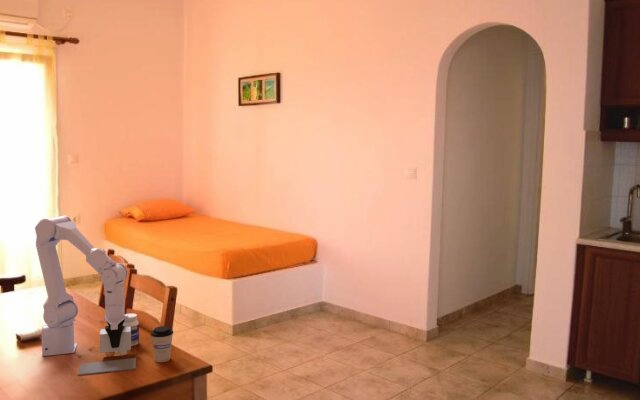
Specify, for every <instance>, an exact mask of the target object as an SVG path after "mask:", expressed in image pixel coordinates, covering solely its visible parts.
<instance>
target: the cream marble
mask: <svg viewBox="0 0 640 400" xmlns="http://www.w3.org/2000/svg"><path fill="white" fill-rule="evenodd" d="M127 353H128V350H126V351H117V354H118V355H119V356H121V357H122V356H125V355H127Z"/></svg>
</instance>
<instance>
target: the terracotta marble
mask: <svg viewBox="0 0 640 400" xmlns="http://www.w3.org/2000/svg"><path fill="white" fill-rule="evenodd" d="M115 353H116V352H105V353H104V355H105V356H106V357H107V358H111V357H114V355H115Z"/></svg>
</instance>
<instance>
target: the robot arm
mask: <svg viewBox="0 0 640 400" xmlns="http://www.w3.org/2000/svg"><path fill="white" fill-rule="evenodd" d="M34 231H35V234H36V237H35V238H36V239H35V247H36V250H37V256H38V260H39V264H40V269H41V272H42V277H43V281H44V285H45V286H44V287H45V289H46V294H47V299H46V300H45V302H44V303H43V314H42V315H43V316H42V317H43V321H44V323H45V325H43V326H42V327H41V357H46V356H56V355H66V354H67V355H68V354H74V353H75V352H76V349H77V345H78V343H77V342H75V327H74V326H75V324H74V323H75V320H76V319H75V318H76V317H77V316H78V314H79V307H78V305H77V303H76V302H75V300H74V296H73V295H71V293H70V294H69V293H68V292H67V289H66V285H65V281H64V277H63V276H64V275H63V272H62V267H61V264H60V260H59V255H58V251H57V245H58V244H59V242H60V241H61V240H64V241H68V242H69V243H70V244H71V245H72V246H73V247H75V248H76V249H77V250H79V251H80V252H81V253H82V254H83V255H85V262H87V264H88V265H90V267H92V268H93V270H95V271H96V272H97V274H99V275H100V276H99V279H100V281H101V282H102V285H103V289H104V308H105V312H104V313H105V317H104V320H105V322H106V323H107V325H106V326H105V327H104V329H105V330H106V332H107V334H108V336H109V339H110V343H111V347H112V348H118V347H119V345H120V338H121V334H122V331H123V329H124V326H123V323H124V321H125V318H128V317H129V315H128V314H129V313H126V314H127V315H125V311H126V310H125V280H126V279H127V278H128V269H127V268H126V266H125V265H124V264H123V263H118V262H116V260H113V259H112V258H111V257H110V256H109V255H108V254H107V253H106V250H105V249H102V248H101V247H100V248H99V247H98V248H95V246H93V245H92V244H91V243H90V241H89V240H88V239H87V238H86V237H85V236H84V235H83V234H82V232H81V231H80V230H79V229H78V228H77V225H76V222H75V221H73V220H72V219H71V218H70V217H69V216H67V215H60V216H55V217H51V218H49V217H48V218H42V219H41V220H40V221H38V223H37V224H36V225H35V227H34Z"/></svg>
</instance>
